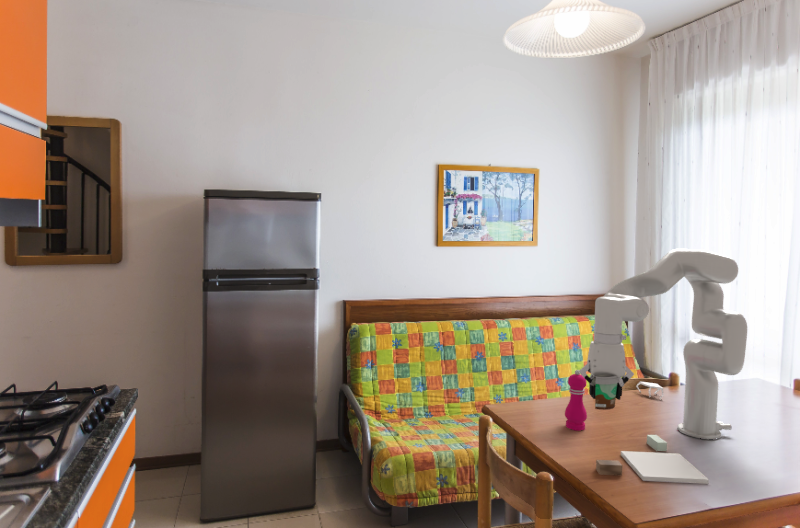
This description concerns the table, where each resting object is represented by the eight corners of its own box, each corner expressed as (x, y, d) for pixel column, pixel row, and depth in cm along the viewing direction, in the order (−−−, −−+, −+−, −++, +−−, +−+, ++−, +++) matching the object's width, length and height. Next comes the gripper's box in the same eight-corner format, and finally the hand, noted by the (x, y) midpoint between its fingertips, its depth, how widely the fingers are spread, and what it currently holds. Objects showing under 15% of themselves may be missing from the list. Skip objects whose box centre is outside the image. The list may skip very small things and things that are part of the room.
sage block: (646, 444, 160) (647, 434, 159) (655, 443, 160) (656, 434, 160) (657, 452, 154) (657, 442, 153) (666, 452, 154) (667, 442, 154)
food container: (617, 414, 143) (618, 379, 143) (594, 410, 146) (595, 376, 146) (620, 401, 154) (621, 369, 154) (599, 398, 157) (600, 366, 156)
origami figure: (668, 396, 209) (668, 384, 209) (662, 401, 203) (663, 389, 202) (637, 390, 217) (638, 378, 217) (631, 394, 211) (632, 382, 210)
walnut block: (617, 471, 140) (618, 460, 140) (621, 476, 137) (622, 465, 137) (595, 470, 141) (596, 459, 141) (599, 475, 138) (599, 464, 138)
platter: (679, 457, 150) (679, 453, 149) (708, 483, 134) (708, 479, 134) (620, 454, 151) (620, 450, 151) (643, 480, 135) (643, 476, 135)
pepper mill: (588, 432, 168) (590, 373, 167) (565, 430, 169) (567, 371, 168) (584, 424, 175) (587, 368, 174) (563, 422, 176) (565, 366, 175)
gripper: (632, 336, 152) (630, 395, 153) (574, 335, 153) (572, 393, 154) (642, 342, 145) (640, 403, 146) (581, 340, 146) (579, 401, 147)
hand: (605, 397), depth 150 cm, fingers closed on food container, 6 cm apart
